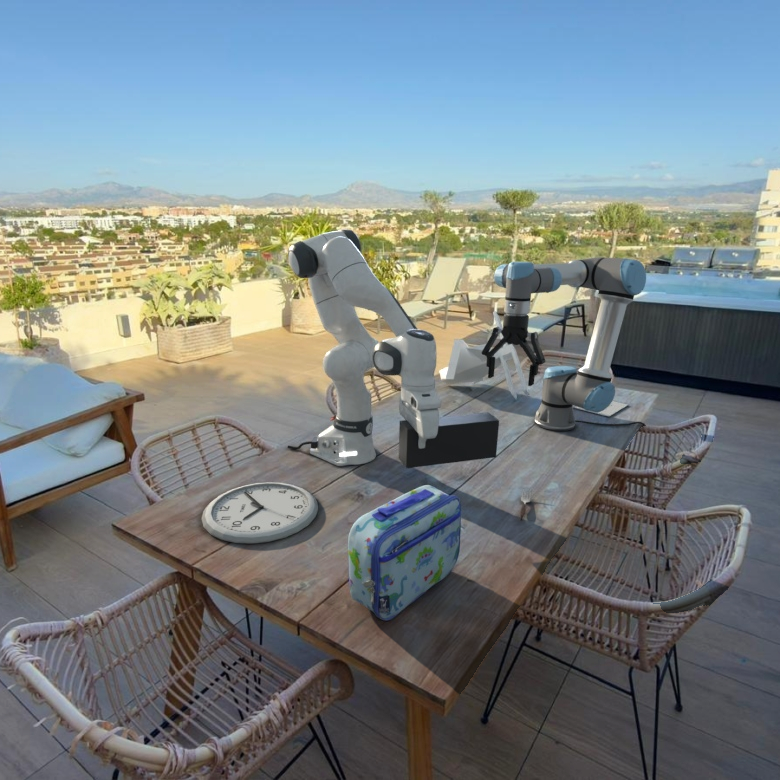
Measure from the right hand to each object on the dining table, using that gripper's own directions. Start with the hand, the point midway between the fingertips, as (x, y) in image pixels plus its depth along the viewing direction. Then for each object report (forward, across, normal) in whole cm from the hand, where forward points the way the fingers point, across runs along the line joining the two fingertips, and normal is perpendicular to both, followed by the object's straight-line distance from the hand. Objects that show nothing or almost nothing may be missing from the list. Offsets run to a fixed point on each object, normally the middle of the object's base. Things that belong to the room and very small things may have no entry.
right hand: (510, 381), depth 165 cm
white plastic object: (+27, -41, +61) cm, 78 cm away
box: (+15, -2, -34) cm, 37 cm away
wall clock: (+27, -36, -72) cm, 85 cm away
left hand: (+9, -7, -42) cm, 43 cm away
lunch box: (+27, +12, -74) cm, 79 cm away
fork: (+27, +18, -26) cm, 42 cm away
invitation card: (+27, +10, +76) cm, 82 cm away
